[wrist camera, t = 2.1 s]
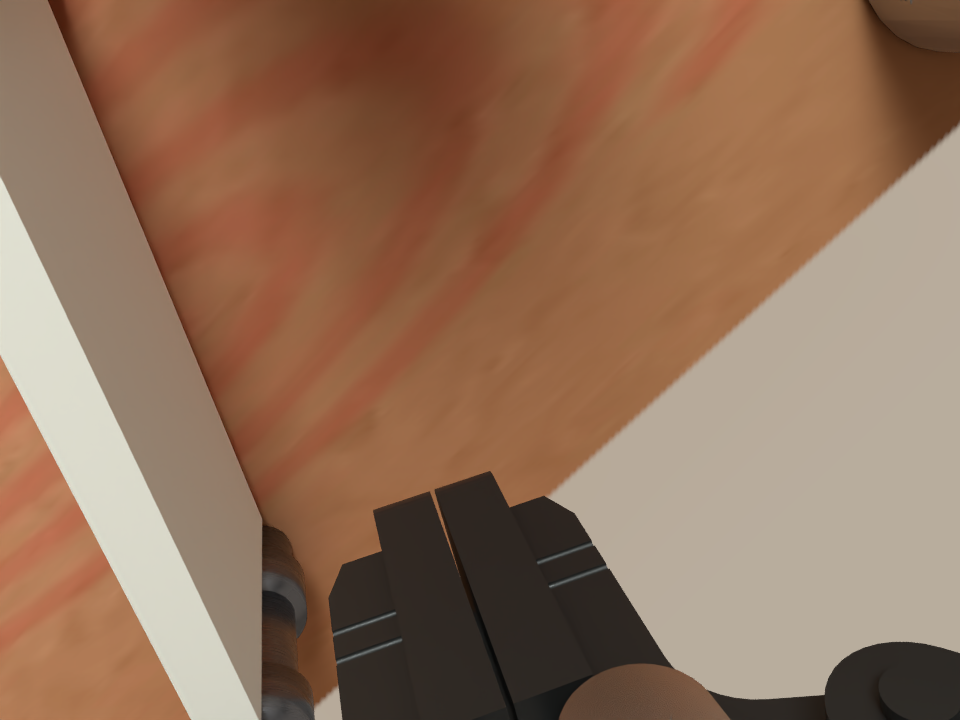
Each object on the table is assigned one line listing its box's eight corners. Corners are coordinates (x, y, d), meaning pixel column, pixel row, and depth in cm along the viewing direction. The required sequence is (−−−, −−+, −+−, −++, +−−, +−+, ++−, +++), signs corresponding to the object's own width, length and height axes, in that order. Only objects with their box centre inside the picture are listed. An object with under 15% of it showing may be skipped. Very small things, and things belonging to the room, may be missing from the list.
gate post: (287, 506, 32) (302, 822, 20) (312, 570, 33) (342, 905, 21) (204, 533, 32) (165, 873, 19) (234, 597, 33) (215, 955, 20)
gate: (268, 509, 31) (270, 736, 22) (215, 526, 31) (193, 764, 21) (22, -97, 23) (-164, -182, 13) (-54, -80, 23) (-301, -153, 13)
